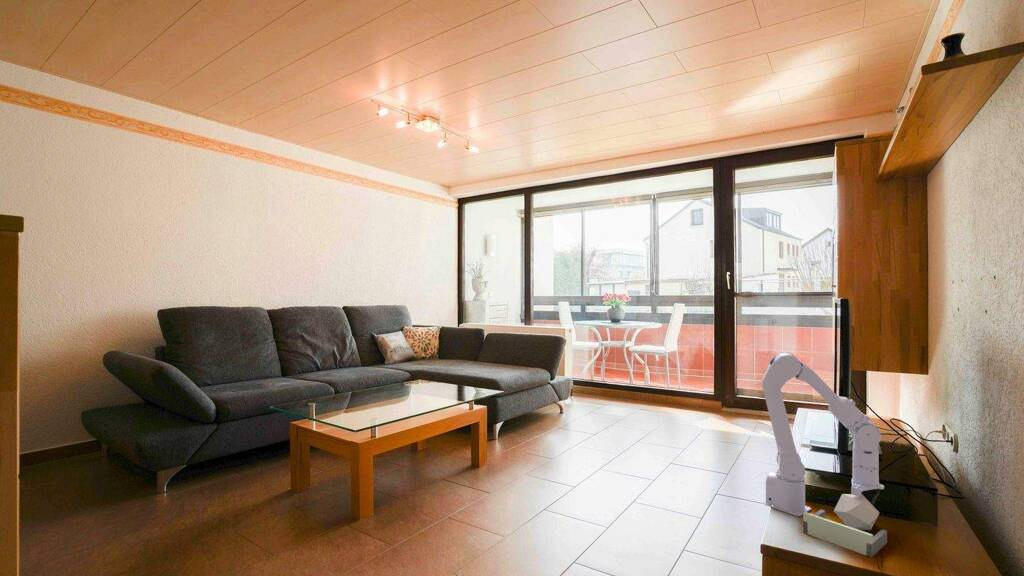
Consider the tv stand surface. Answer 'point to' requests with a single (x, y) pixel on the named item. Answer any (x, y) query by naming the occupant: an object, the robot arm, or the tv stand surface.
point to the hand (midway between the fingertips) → (865, 515)
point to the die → (856, 511)
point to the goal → (843, 534)
